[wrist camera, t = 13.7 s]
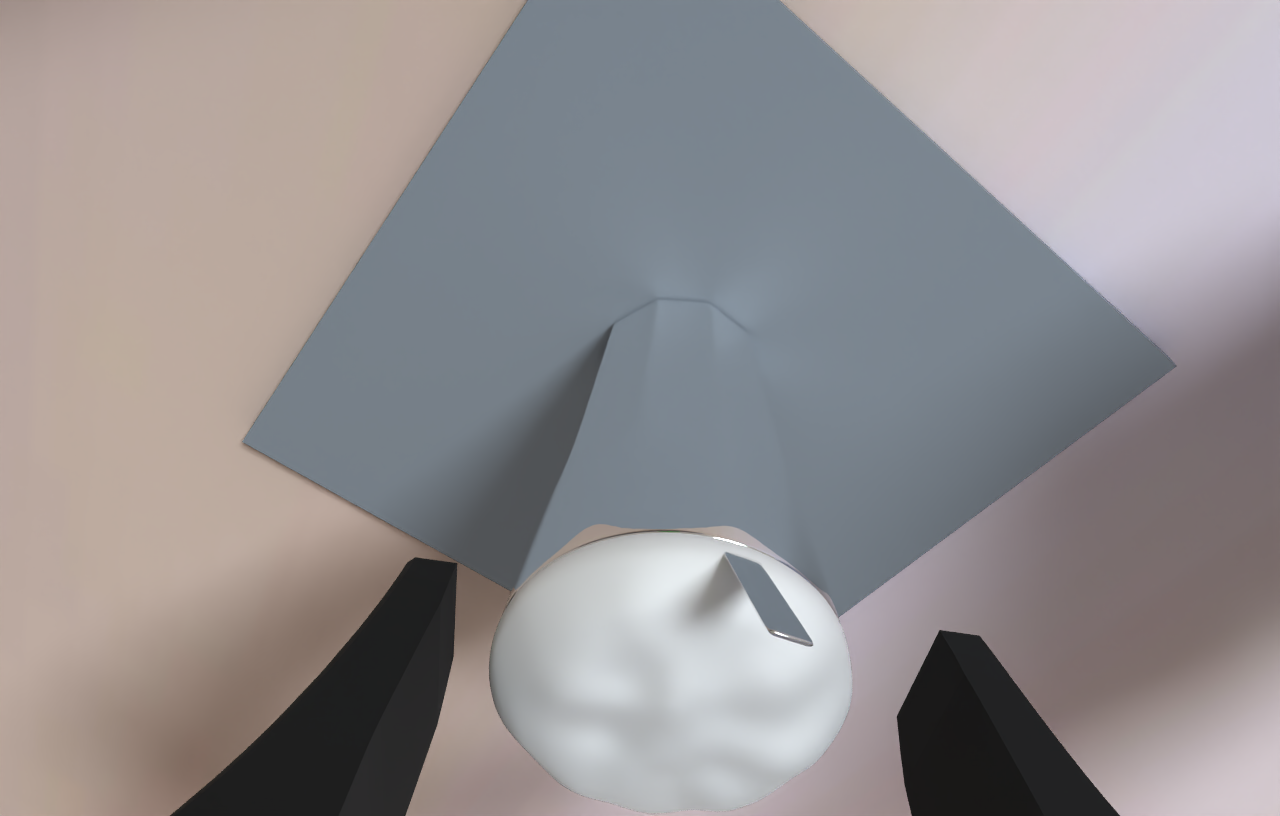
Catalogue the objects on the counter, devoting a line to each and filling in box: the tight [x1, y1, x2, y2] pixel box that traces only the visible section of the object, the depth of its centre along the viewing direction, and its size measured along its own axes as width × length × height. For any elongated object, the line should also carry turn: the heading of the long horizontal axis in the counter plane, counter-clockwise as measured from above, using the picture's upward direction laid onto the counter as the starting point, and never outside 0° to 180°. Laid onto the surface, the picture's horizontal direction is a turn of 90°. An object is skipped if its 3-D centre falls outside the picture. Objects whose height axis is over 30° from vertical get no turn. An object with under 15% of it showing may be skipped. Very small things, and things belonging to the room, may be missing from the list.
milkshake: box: [489, 299, 852, 814], centre depth 13 cm, size 5×5×10 cm
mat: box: [242, 0, 1176, 617], centre depth 19 cm, size 14×14×1 cm
